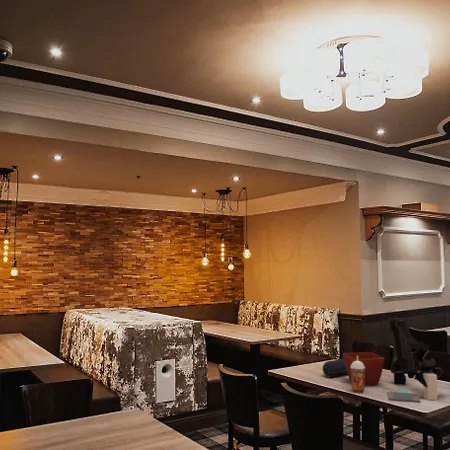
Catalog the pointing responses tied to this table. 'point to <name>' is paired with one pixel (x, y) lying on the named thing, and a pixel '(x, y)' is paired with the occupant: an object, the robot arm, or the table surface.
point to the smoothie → (357, 376)
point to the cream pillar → (430, 386)
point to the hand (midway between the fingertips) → (431, 386)
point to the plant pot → (366, 366)
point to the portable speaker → (334, 368)
